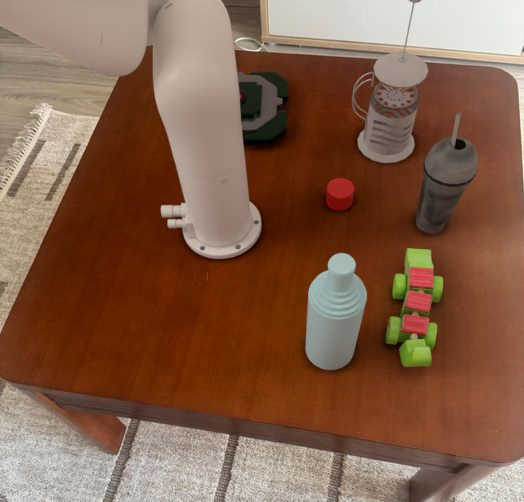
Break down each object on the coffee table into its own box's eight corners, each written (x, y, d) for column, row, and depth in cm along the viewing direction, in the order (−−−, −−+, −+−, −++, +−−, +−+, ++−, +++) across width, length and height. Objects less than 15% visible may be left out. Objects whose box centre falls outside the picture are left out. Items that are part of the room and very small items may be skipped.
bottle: (306, 370, 73) (311, 291, 55) (304, 327, 76) (308, 238, 58) (355, 369, 72) (377, 289, 54) (352, 326, 75) (371, 237, 57)
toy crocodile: (395, 257, 80) (403, 231, 75) (440, 263, 79) (451, 238, 74) (380, 372, 72) (387, 353, 66) (429, 381, 71) (441, 362, 65)
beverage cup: (452, 243, 81) (498, 138, 63) (404, 237, 82) (436, 132, 64) (454, 207, 84) (499, 97, 66) (408, 201, 85) (440, 92, 67)
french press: (413, 165, 88) (454, 14, 66) (344, 159, 90) (361, 9, 68) (416, 125, 93) (455, -30, 70) (350, 119, 94) (368, -34, 72)
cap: (345, 187, 87) (346, 174, 84) (356, 205, 85) (358, 192, 83) (321, 195, 87) (322, 182, 84) (333, 214, 85) (334, 201, 82)
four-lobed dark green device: (194, 83, 101) (190, 61, 97) (288, 82, 100) (288, 59, 95) (184, 151, 93) (179, 130, 88) (286, 150, 91) (286, 128, 87)
